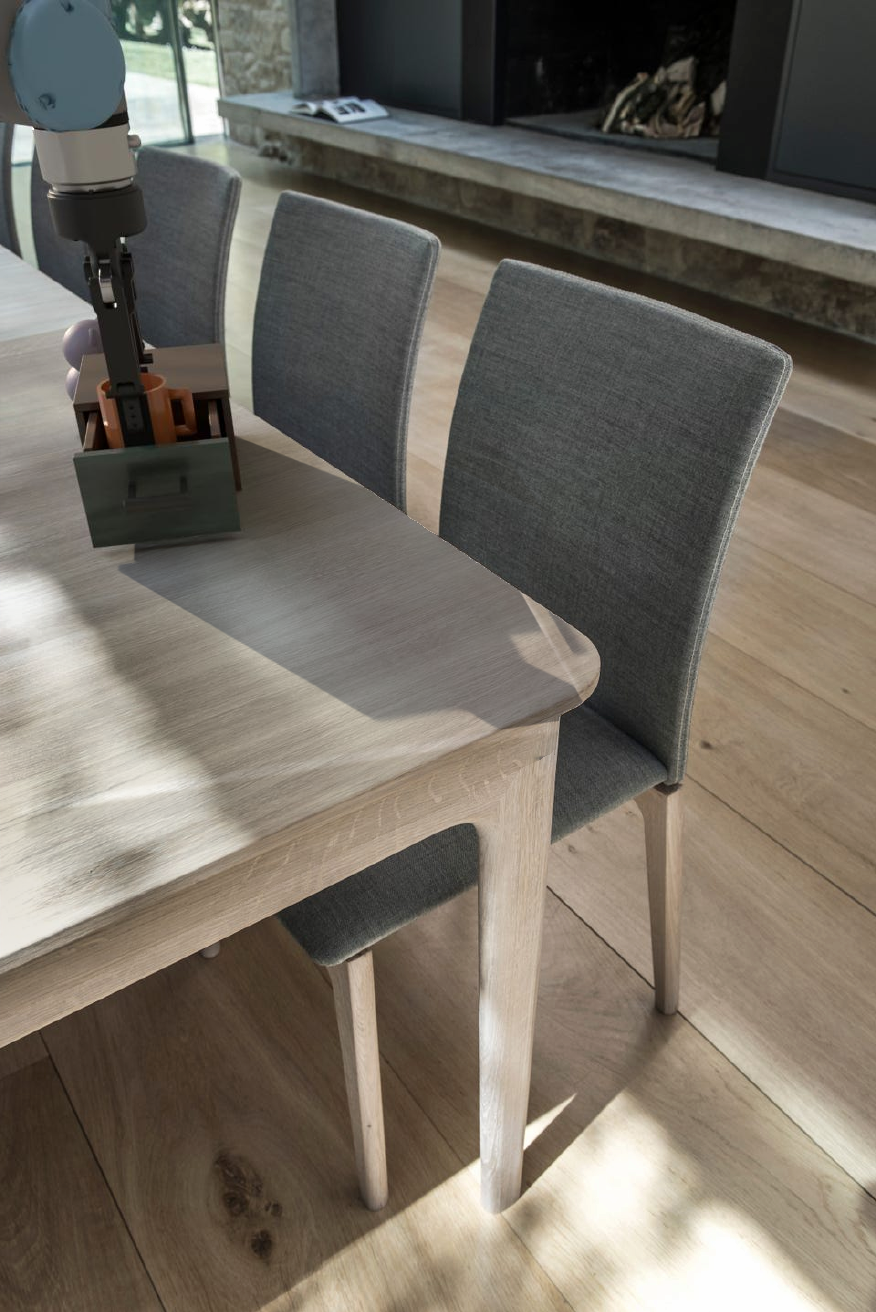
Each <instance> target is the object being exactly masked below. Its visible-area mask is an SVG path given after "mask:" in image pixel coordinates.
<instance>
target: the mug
mask: <svg viewBox="0 0 876 1312" xmlns="http://www.w3.org/2000/svg"><path fill="white" fill-rule="evenodd" d="M141 378H142V384H143V385H144V387H145V391H146V393H147V398H148V404H149V409H150V415H151V420H152V425H153V431H154V436H155V441H156V445H157V444H167V443H177V442H178V439H177V437H179V436H188V435H195V434H196V433H197V424H196V417H195V411H194V405H193V399H192V393H191V390H190V389H189V388H188V387H182V388H172V389H169V388H168V382H167V378H165V377H164V376H162V375H158V374H154V373H141ZM110 388H111V385H110V380H109V379H107V380H104V381H102V382H101V383H100V384H99V385H97V394H98V398H99V403H100V408H101V412H102V417H103V421H104V426H105V431H106V435H107V440H108V445H109V449H118V448H125V446H124V441H123V436H122V431H121V427H120V422H119V417H118V412H117V407H116V402H115V398H113V399H106V395H105V392H110ZM175 399H181V400H182V406H183V412H184V418H185V424H186V425H179V426H175V422H174V416H173V411H172V405H171V400H175Z"/></svg>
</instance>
